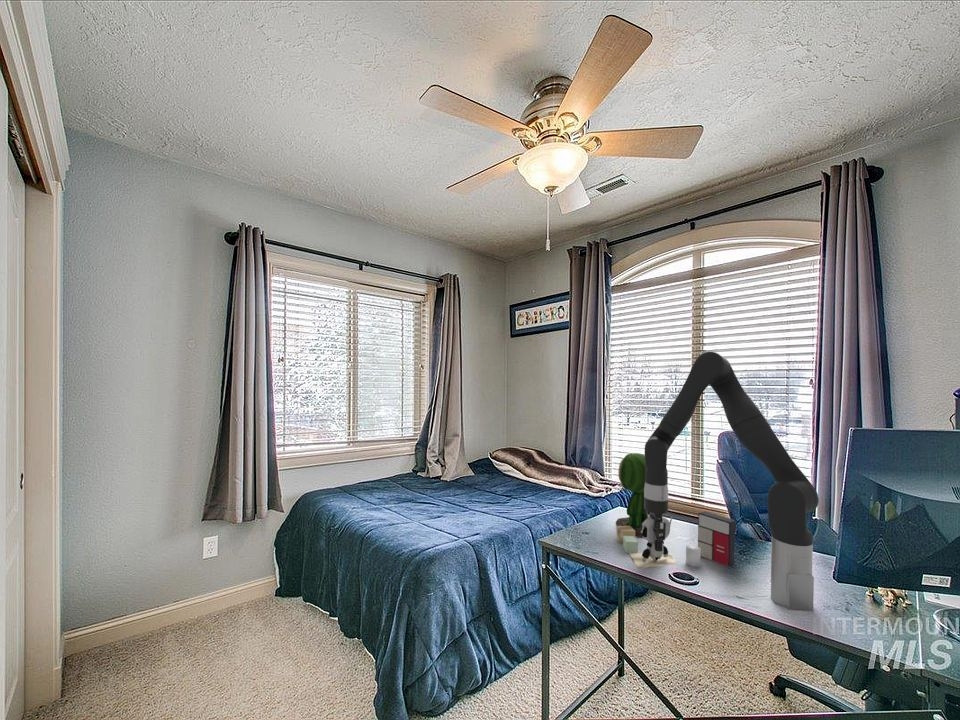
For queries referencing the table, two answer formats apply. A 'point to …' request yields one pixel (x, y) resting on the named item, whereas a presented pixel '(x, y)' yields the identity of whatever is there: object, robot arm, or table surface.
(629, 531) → the oak cube
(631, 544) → the sage brick
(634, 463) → the figurine
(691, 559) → the white upright block
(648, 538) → the robot toy
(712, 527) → the grey red panel box
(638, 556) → the birch pad
